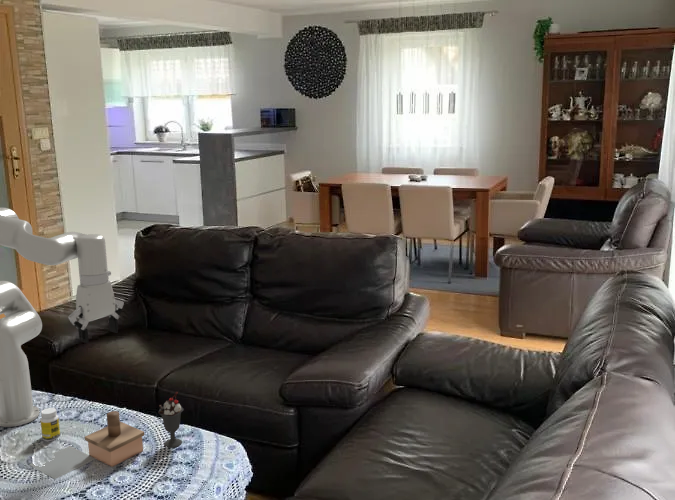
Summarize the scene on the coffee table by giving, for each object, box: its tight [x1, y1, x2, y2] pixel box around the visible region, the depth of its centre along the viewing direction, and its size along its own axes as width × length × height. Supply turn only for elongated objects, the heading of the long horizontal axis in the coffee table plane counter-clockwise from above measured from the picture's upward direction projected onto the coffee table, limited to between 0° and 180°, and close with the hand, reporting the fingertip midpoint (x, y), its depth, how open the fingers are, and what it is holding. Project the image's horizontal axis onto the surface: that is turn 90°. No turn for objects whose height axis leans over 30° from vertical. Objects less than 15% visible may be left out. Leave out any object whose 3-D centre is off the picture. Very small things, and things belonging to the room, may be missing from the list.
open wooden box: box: [87, 436, 144, 468], centre depth 183 cm, size 10×10×5 cm
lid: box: [84, 410, 145, 452], centre depth 181 cm, size 11×11×7 cm
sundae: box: [157, 391, 184, 449], centre depth 187 cm, size 7×7×15 cm
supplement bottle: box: [40, 407, 61, 442], centre depth 192 cm, size 5×5×8 cm
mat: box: [28, 445, 96, 480], centre depth 179 cm, size 12×12×1 cm
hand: (99, 336), depth 192 cm, fingers open, 9 cm apart
